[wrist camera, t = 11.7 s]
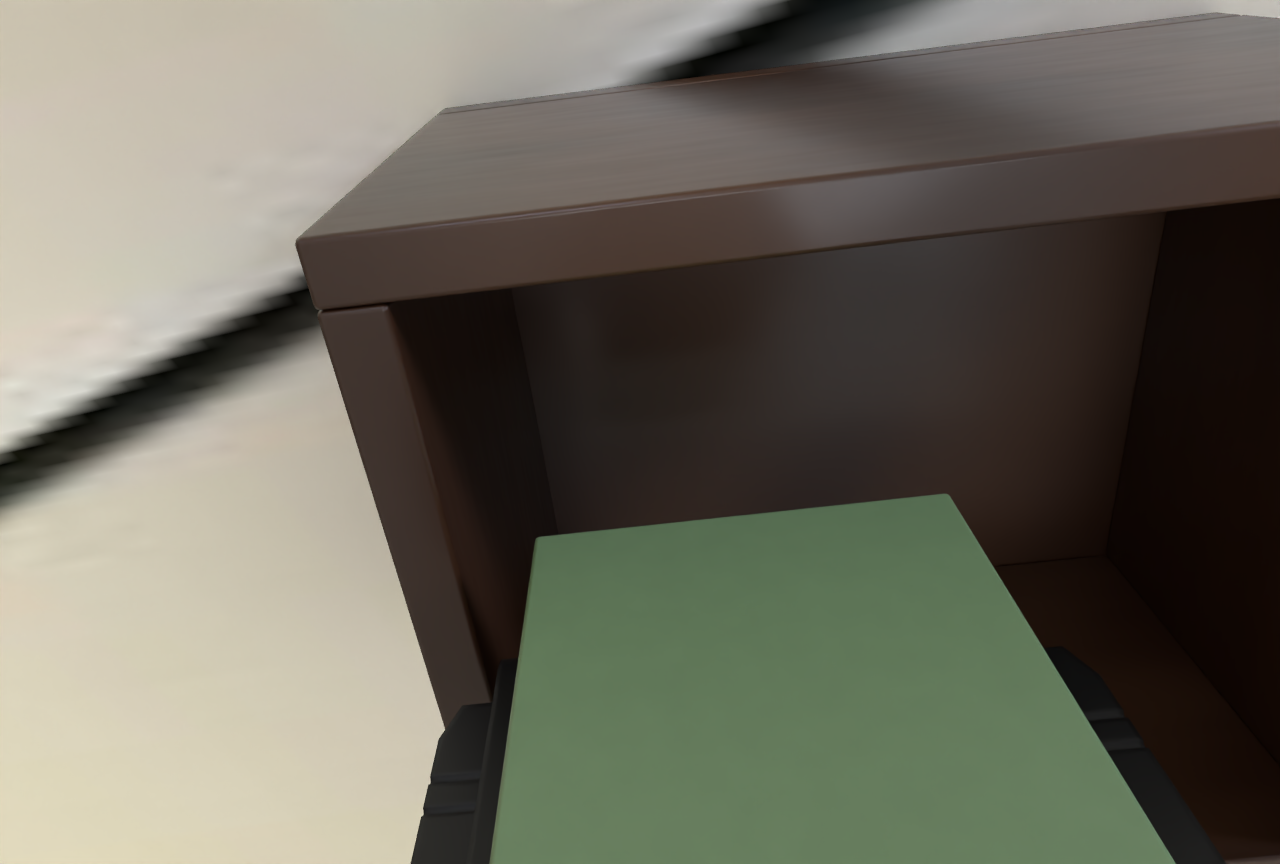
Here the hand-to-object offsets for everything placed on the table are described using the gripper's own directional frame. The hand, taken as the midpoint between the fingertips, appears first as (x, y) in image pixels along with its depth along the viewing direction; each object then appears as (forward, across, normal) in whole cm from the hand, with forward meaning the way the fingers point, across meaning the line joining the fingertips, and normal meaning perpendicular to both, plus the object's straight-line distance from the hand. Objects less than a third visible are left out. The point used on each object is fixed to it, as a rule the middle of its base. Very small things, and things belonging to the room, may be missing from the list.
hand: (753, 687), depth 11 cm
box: (+9, -3, 0) cm, 10 cm away
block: (0, 0, 0) cm, 0 cm away
